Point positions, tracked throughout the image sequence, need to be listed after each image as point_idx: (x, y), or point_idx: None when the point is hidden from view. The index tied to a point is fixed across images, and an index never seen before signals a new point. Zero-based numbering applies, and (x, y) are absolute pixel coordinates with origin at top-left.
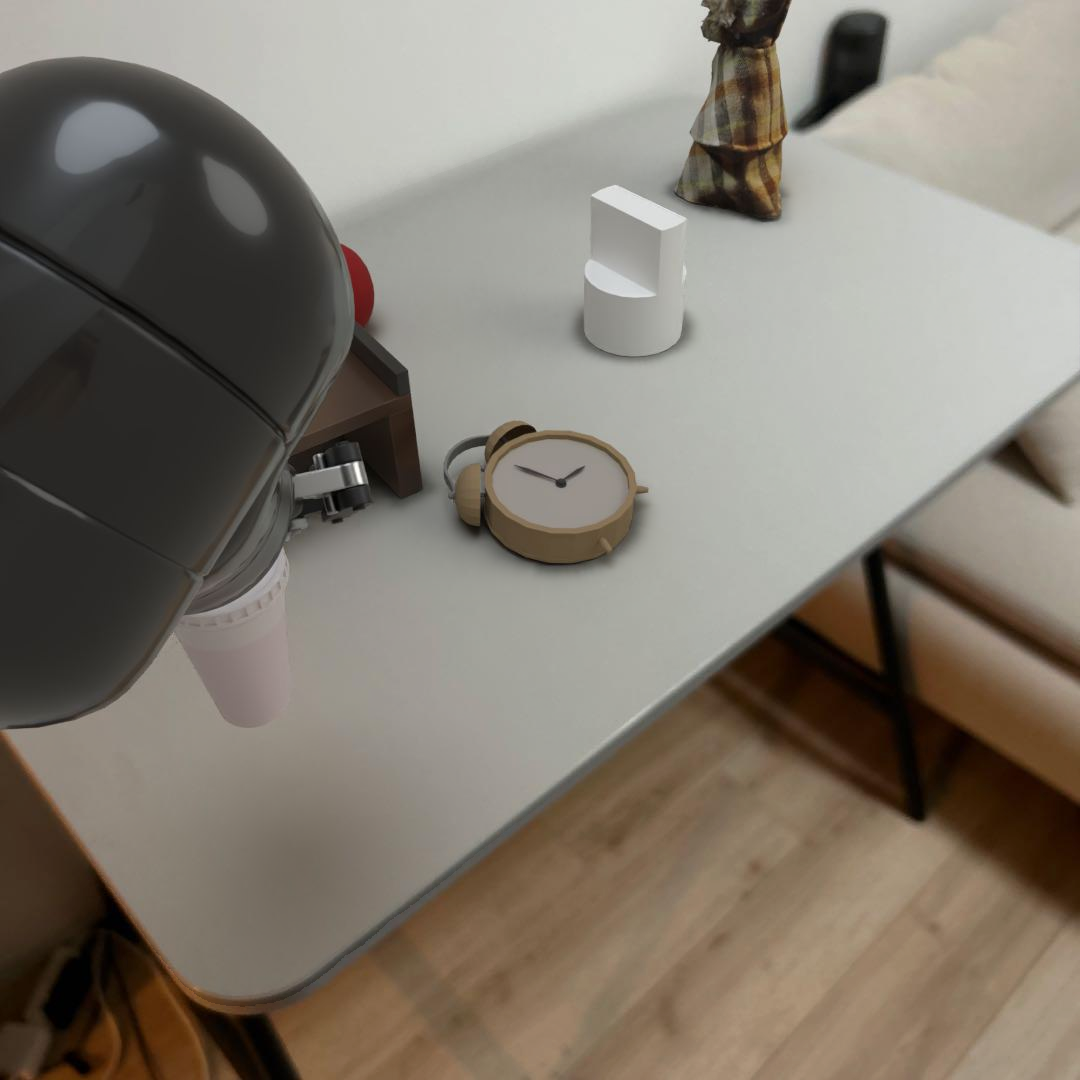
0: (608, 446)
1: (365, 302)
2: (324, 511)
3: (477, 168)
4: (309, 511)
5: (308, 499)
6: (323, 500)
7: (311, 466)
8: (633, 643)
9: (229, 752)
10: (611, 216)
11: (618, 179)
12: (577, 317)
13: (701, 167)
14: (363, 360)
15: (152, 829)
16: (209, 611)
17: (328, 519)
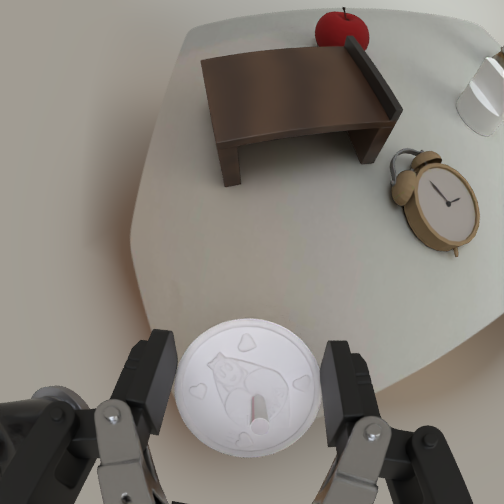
0: (472, 191)
1: (364, 47)
2: (395, 494)
3: (409, 11)
4: (379, 476)
5: (387, 471)
6: (401, 476)
7: (419, 464)
8: (446, 315)
9: (228, 306)
10: (492, 72)
11: (465, 44)
12: (453, 97)
13: (501, 62)
14: (371, 86)
15: (181, 337)
16: (229, 452)
17: (393, 502)
